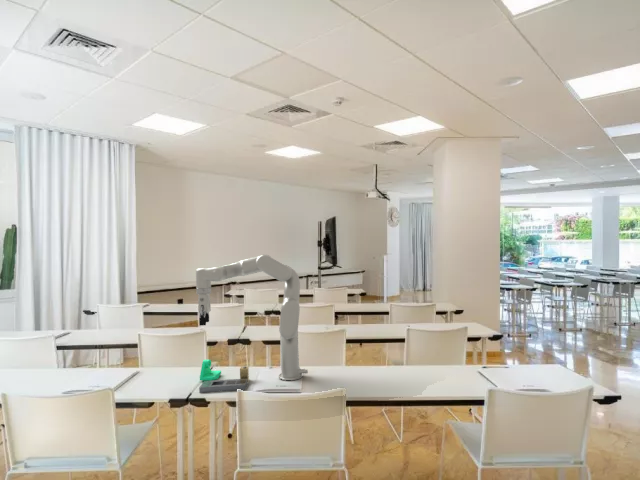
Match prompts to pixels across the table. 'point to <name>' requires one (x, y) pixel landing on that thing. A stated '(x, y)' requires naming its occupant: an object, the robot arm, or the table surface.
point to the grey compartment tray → (223, 385)
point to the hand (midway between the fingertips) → (204, 323)
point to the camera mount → (208, 371)
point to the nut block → (244, 373)
